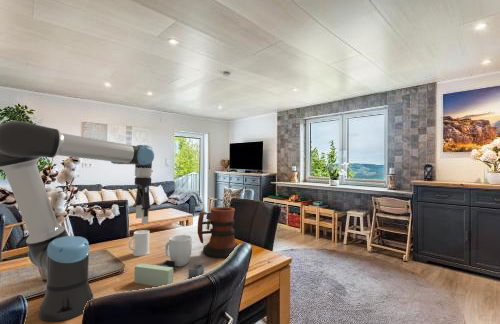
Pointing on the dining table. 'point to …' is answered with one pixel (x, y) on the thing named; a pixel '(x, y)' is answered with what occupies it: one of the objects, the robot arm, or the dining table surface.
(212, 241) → the tankard
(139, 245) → the mug
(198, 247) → the dining table surface
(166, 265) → the cap far
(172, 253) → the mug
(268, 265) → the dining table surface
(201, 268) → the cap near
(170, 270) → the pale green long block
